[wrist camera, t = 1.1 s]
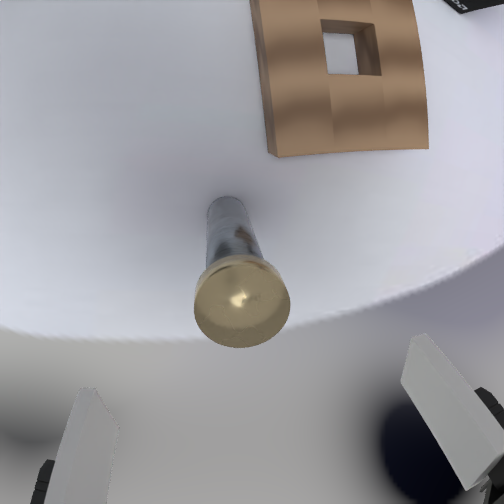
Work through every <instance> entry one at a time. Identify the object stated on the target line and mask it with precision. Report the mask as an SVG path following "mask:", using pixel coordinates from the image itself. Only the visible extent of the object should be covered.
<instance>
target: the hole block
mask: <svg viewBox="0 0 504 504" xmlns="http://www.w3.org/2000/svg"><path fill="white" fill-rule="evenodd" d="M250 7H251V14H252V21H253V29H254V36H255V44H256V51H257V59H258V67H259V75H260V84H261V92H262V100H263V109H264V118H265V127H266V136H267V145H268V152H269V153H270V154H272V155H274V156H276V157H278V158H280V157H290V156H300V155H311V154H323V153H337V152H353V151H372V150H400V149H429V138H428V114H427V99H426V87H425V77H424V68H423V60H422V53H421V46H420V40H419V34H418V28H417V22H416V17H415V12H414V7H413V3H412V0H250ZM322 32H324V33H344V34H353V35H354V42H355V49H356V56H357V64H358V72H359V75H346V74H328V72H327V64H326V56H325V48H324V41H323V34H322Z"/></svg>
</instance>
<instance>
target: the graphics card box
mask: <svg viewBox="0 0 504 504" xmlns="http://www.w3.org/2000/svg"><path fill="white" fill-rule="evenodd" d="M445 1H446V2H447V3H448V4H450V5H451V6H452V7H453V8H454V9H456V10H457V11H458V12H459V13H460V14H463V13H467V12H470V11H474V10H478V9H483V8H487V7H491V6H496V5H500V4H504V0H445Z"/></svg>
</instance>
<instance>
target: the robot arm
mask: <svg viewBox="0 0 504 504" xmlns="http://www.w3.org/2000/svg"><path fill="white" fill-rule="evenodd" d="M400 382H401V384H402V385H403V387H404V388H405V390H406V392H407V393H408V395H409V396H410V398H411V399H412V401H413V403H414V404H415V405H416V407H417V409H418V411H419V412H420V414H421V415H422V417H423V419H424V420H425V422H426V424H427V425H428V426H429V428H430V430H431V432H432V433H433V435H434V437H435V438H436V440H437V442H438V443H439V445H440V447H441V448H442V450H443V452H444V454H445V455H446V457H447V459H448V460H449V462H450V463H451V466H452V467H453V469H454V471H455V472H456V474H457V476H458V478H459V480H460V481H461V483H462V485H463V487H464V488H465V490H468V489H470V488H472V487H473V486H475V485H477V484H478V483H480V482H481V481H482V480H483V479H484V478H485V477H486V476H487V475H488V476H489V478H490V479H489V480H488V481H487V482H486V483H485V484H484V485H483V486H482V487H481V490H480V492H483V491H484V490H485V489H486V488H487V490H486V492H485V493H486V494H485V499H484V503H483V504H504V409H503V407H502V406H501V405H500V404H498V401H497V400H496V398H495V397H494V396H493V395H492V393H490V392H488V391H487V390H485V389H484V388H482V387H480V388H478V389H476V390H473V389H472V388H471V387H470V386H469V384H468V383H467V382H466V380H465V379H464V378H463V377H462V375H461V374H460V373H459V372H458V371H457V369H456V368H455V367H454V366H453V365H452V363H451V362H450V361H449V360H448V359H447V357H446V356H445V355H444V354H443V353H442V351H441V350H440V349H439V348H438V347H437V346H436V344H435V343H434V342H433V341H432V340H431V339H430V337H429V336H428V335H427V334H426V333H423V334H420V335H417V336H413V337H411V340H410V344H409V349H408V353H407V357H406V361H405V366H404V370H403V373H402V377H401V381H400ZM118 433H119V426H118V424H117V423H116V421H115V420H114V418H113V417H112V415H111V413H110V412H109V410H108V409H107V407H106V405H105V404H104V402H103V400H102V399H101V397H100V395H99V394H98V392H97V390H96V388H80V389H79V392H78V395H77V397H76V400H75V403H74V406H73V408H72V411H71V414H70V417H69V420H68V423H67V426H66V429H65V432H64V435H63V438H62V441H61V444H60V447H59V451H58V454H57V457H56V460H55V461H54V460H46V462H45V463H44V464H43V466H42V467H41V468H40V471H39V474H38V478H37V482H36V485H35V491H34V492H33V496H32V500H31V503H30V504H106V503H107V495H108V489H109V483H110V477H111V471H112V465H113V458H114V454H115V448H116V443H117V438H118Z"/></svg>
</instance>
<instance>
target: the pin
mask: <svg viewBox="0 0 504 504" xmlns="http://www.w3.org/2000/svg"><path fill="white" fill-rule="evenodd" d="M289 312H290V298H289V294H288V292H287V289H286V287H285V285H284V282H283V280H282V278H281V276H280V274H279V272H278V271H277V270H276V269H275V268H274V266H272V265H271V264H270V263H269V262H267V261H265V260H264V259H263V256H262V253H261V251H260V248H259V245H258V243H257V240H256V237H255V235H254V232H253V229H252V226H251V224H250V221H249V218H248V216H247V213H246V210H245V208H244V206H243V204H242V203H241V202H240V201H239V200H237V199H236V198H233V197H221V198H219V199H217V200H215V201H214V202H213V203H212V204H211V206H210V207H209V210H208V221H207V251H206V270H205V271H204V272H203V273H202V275H201V276H200V278H199V280H198V282H197V285H196V290H195V302H194V314H195V319H196V322H197V324H198V326H199V328H200V329H201V331H202V332H203V333H204V334H205V335H206V336H207V337H208V338H210V339H211V340H213V341H214V342H216V343H218V344H221V345H224V346H228V347H234V348H245V347H251V346H255V345H259V344H261V343H263V342H266V341H267V340H269V339H271V338H272V337H273V336H275V335H276V334H277V333H278V332H279V331H280V330H281V329H282V327H283V326H284V324H285V323H286V321H287V319H288V316H289Z"/></svg>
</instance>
